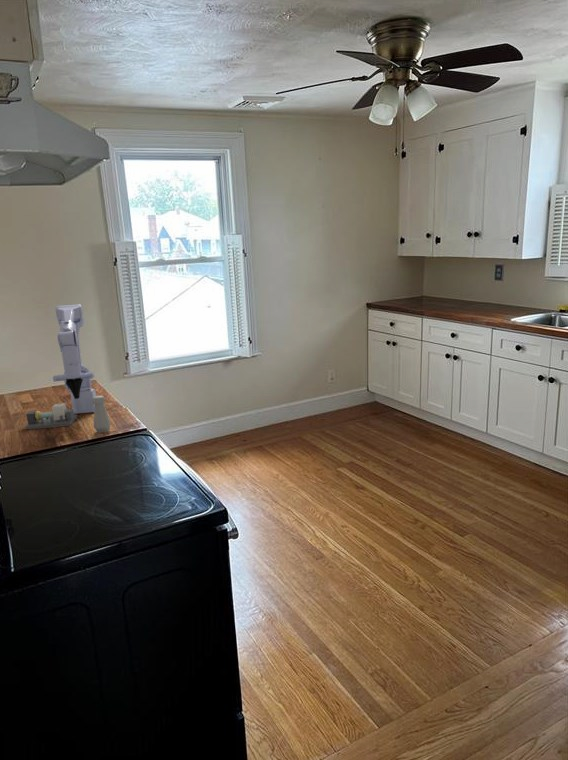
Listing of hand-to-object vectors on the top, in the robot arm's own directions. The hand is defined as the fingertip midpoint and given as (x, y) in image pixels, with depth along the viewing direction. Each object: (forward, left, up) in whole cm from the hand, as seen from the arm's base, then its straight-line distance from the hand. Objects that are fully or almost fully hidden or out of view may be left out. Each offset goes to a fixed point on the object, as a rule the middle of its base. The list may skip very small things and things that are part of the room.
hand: (77, 398), depth 205 cm
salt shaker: (-11, +16, -9) cm, 22 cm away
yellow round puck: (+15, 0, -7) cm, 17 cm away
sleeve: (+7, 0, -8) cm, 10 cm away
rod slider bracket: (+11, 0, -9) cm, 14 cm away
